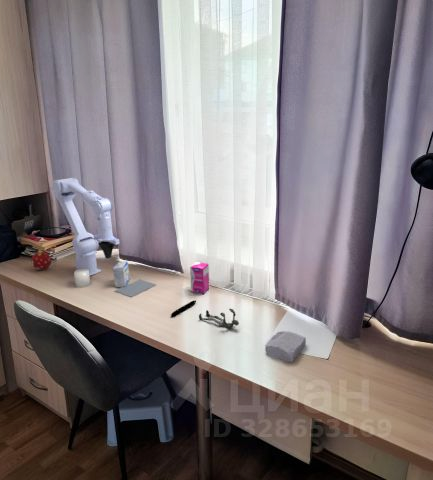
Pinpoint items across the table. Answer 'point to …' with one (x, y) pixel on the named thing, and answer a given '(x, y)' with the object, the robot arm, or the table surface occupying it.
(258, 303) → the table surface
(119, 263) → the medicine box
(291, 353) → the stone block
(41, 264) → the christmas ornament
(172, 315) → the pen
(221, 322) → the zombie figurine
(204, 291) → the supplement box
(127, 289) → the felt mat
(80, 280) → the white round lump
